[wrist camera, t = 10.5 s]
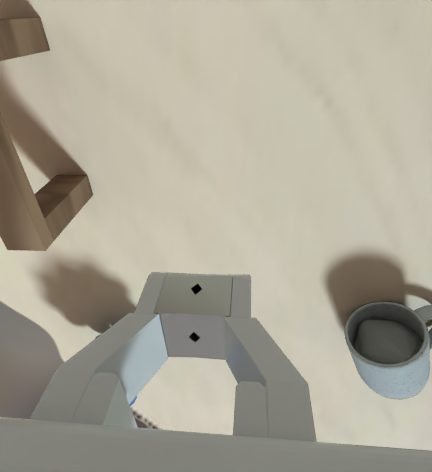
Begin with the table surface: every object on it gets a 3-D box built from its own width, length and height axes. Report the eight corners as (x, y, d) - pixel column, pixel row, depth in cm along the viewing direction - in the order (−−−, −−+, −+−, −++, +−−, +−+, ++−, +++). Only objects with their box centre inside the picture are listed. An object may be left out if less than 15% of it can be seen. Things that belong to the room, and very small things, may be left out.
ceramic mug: (351, 351, 41) (371, 413, 34) (336, 309, 37) (355, 371, 30) (445, 333, 38) (485, 398, 31) (439, 285, 33) (484, 348, 27)
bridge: (63, 194, 31) (7, 249, 24) (0, 19, 23) (-112, 25, 16) (93, 194, 31) (45, 250, 24) (40, 17, 23) (-56, 22, 16)
